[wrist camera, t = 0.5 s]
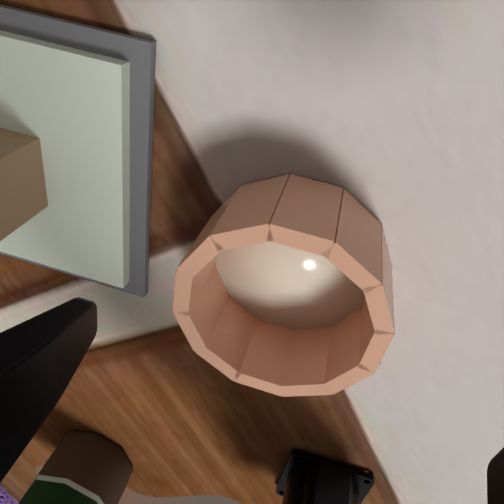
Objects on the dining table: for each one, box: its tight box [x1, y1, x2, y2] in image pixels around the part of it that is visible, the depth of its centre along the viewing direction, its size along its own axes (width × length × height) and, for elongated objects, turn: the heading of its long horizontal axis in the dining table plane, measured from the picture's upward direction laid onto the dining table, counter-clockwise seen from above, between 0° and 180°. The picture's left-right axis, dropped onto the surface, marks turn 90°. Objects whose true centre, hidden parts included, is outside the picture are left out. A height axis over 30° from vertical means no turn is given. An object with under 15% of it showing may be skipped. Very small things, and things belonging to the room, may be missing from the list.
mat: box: [0, 4, 156, 297], centre depth 24 cm, size 15×15×1 cm
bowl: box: [172, 174, 395, 397], centre depth 22 cm, size 10×10×5 cm
